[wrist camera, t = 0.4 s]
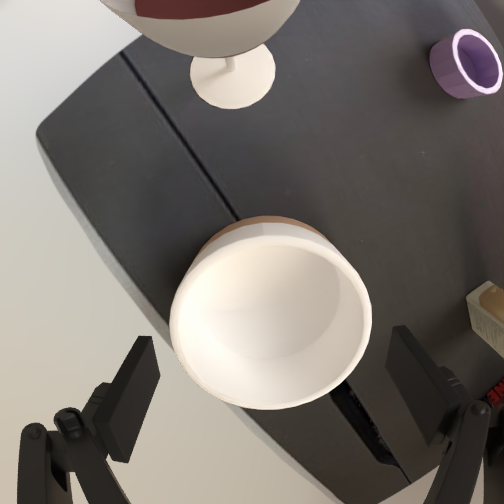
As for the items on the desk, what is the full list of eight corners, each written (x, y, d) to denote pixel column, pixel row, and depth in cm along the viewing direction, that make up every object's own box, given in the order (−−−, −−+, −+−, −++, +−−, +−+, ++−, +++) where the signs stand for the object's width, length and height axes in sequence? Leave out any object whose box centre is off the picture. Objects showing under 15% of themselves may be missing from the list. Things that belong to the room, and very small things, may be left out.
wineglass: (210, 129, 29) (116, 69, 8) (173, 50, 26) (65, -78, 5) (294, 95, 28) (375, -20, 7) (254, 17, 25) (256, -146, 4)
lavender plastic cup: (426, 33, 25) (448, 19, 20) (474, 50, 25) (497, 42, 20) (431, 91, 27) (456, 83, 22) (479, 105, 27) (505, 101, 22)
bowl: (201, 366, 36) (190, 413, 28) (174, 223, 31) (149, 245, 23) (344, 353, 36) (364, 398, 28) (346, 208, 31) (376, 225, 23)
